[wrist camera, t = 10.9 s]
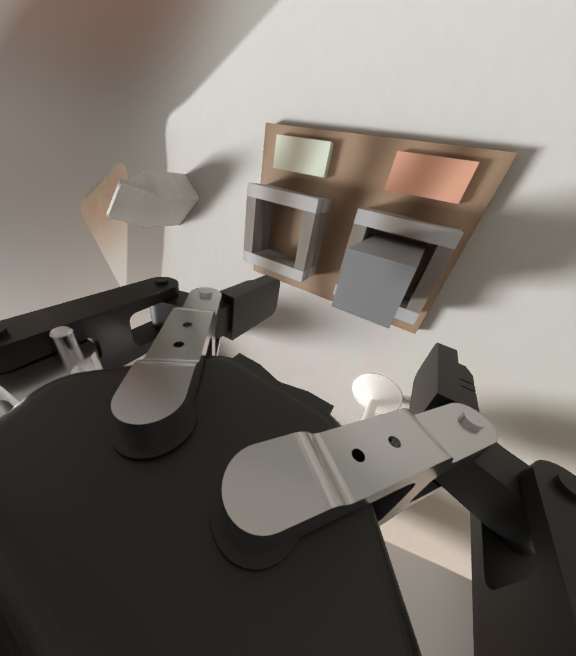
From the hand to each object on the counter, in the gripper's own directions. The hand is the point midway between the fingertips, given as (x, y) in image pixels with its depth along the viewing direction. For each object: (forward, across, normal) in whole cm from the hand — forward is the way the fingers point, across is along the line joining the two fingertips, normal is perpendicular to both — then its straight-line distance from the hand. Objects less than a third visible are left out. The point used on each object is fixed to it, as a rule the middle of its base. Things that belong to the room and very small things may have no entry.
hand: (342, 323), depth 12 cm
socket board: (+17, +6, -2) cm, 18 cm away
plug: (+16, 0, 0) cm, 16 cm away
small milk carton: (+17, +32, 0) cm, 36 cm away
